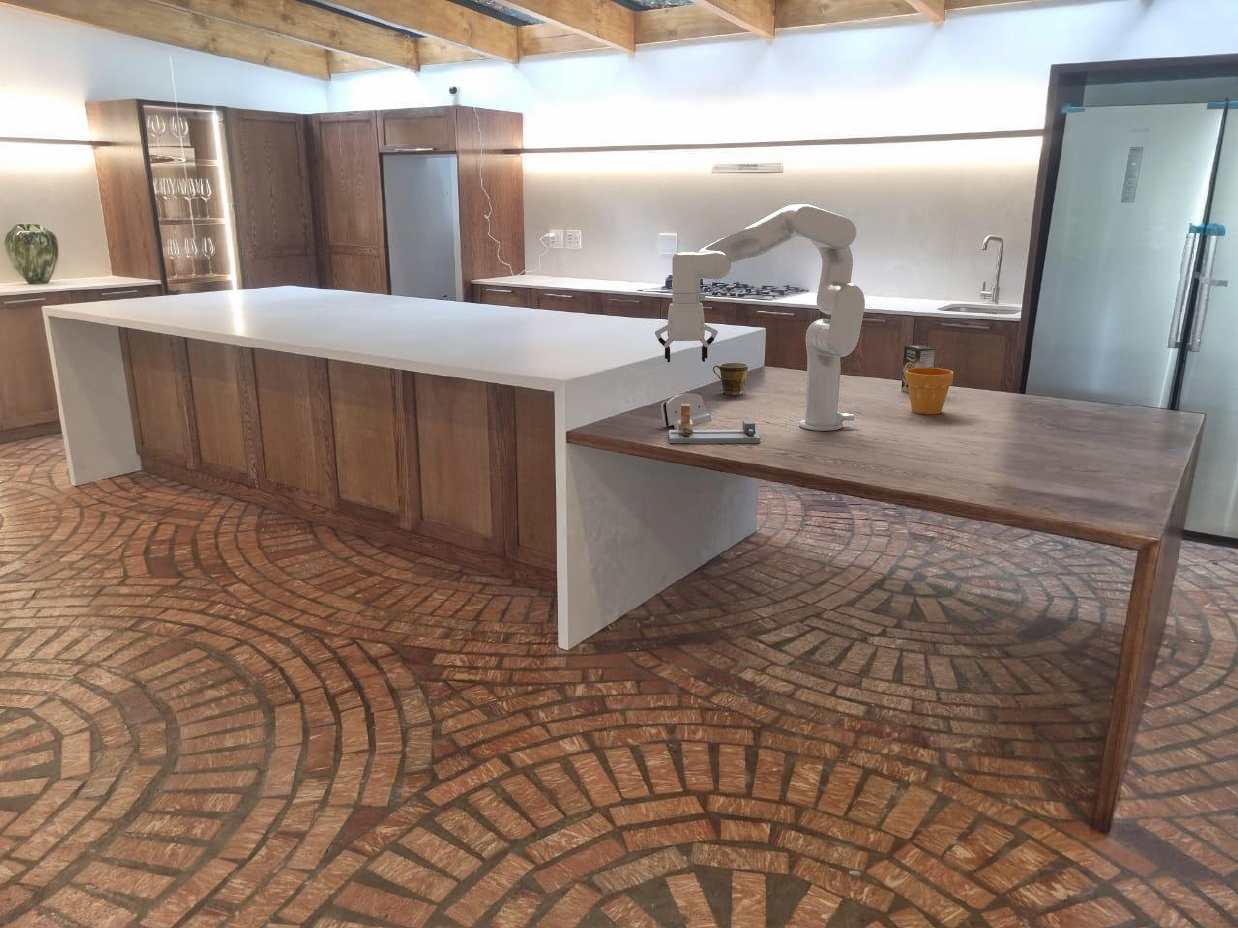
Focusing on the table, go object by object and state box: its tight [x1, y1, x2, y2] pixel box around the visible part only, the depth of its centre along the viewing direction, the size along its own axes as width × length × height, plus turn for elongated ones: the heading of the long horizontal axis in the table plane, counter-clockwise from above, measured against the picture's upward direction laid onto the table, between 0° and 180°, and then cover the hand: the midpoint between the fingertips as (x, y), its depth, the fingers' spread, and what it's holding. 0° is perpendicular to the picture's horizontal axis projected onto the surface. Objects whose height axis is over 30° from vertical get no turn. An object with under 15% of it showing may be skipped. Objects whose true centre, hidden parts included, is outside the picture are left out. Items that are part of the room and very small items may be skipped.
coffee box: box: [900, 344, 936, 394], centre depth 310 cm, size 9×6×16 cm
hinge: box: [660, 393, 712, 430], centre depth 271 cm, size 17×5×10 cm, turn 133°
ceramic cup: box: [712, 362, 749, 396], centre depth 314 cm, size 13×10×10 cm
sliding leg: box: [677, 404, 694, 436], centre depth 250 cm, size 4×8×8 cm, turn 179°
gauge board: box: [668, 419, 761, 444], centre depth 251 cm, size 25×10×5 cm, turn 89°
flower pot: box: [905, 367, 954, 415], centre depth 281 cm, size 14×14×13 cm
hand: (686, 361), depth 247 cm, fingers open, 9 cm apart
